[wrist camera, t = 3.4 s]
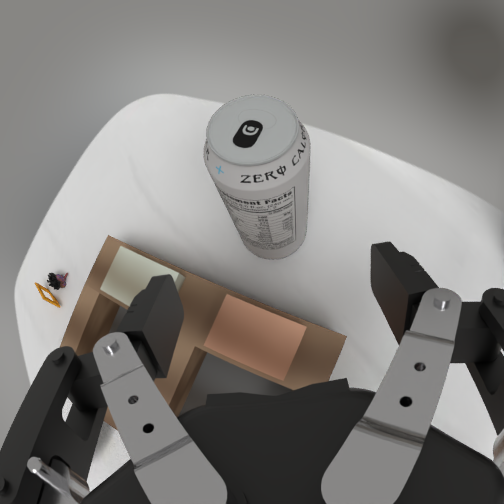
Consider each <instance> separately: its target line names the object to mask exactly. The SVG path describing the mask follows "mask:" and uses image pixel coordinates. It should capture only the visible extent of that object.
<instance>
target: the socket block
mask: <svg viewBox="0 0 504 504" xmlns="http://www.w3.org/2000/svg"><path fill="white" fill-rule="evenodd" d="M166 274H170V275H171V276H172V277H173V280H174V282H175V285H176V288H177V291H178V294H179V297H180V299H181V302H182V305H183V310H184V320H183V323H182V327H181V330H180V333H179V337H178V340H177V343H176V347H175V350H174V354H173V357H172V361H171V364H170V368H169V371H168V375H167V378H155V381H154V383H155V385H156V387H157V388H158V390H159V391H160V393H161V395H162V396H163V398H164V399H165V401H166V402H167V404H168V406H169V407H170V409H171V410H172V412H173V413H174V415H175V416H176V418H178V417H179V416H180V415H182V414H184V413H185V412H187V411H189V410H191V409H193V408H196V407H199V406H201V405H205V404H206V399H207V394H220V393H236V392H243V393H252V394H260V395H270V396H278V395H281V394H284V393H287V392H290V391H293V390H296V389H299V388H302V387H305V386H308V385H310V384H315V383H321V382H327V381H329V378H330V376H331V374H332V371H333V369H334V367H335V364H336V362H337V360H338V357H339V355H340V352H341V350H342V347H343V345H344V342H345V340H346V337H347V336H345V335H342V334H339V333H337V332H334V331H331V330H329V329H326V328H324V327H321V326H318V325H316V324H313V323H311V322H308V321H305V320H303V319H300V318H298V317H295V316H293V315H290V314H288V313H285V312H283V311H280V310H278V309H275V308H273V307H270V306H268V305H265V304H263V303H261V302H258V301H256V300H253V299H251V298H248V297H246V296H244V295H241V294H239V293H236V292H234V291H232V290H229V289H227V288H225V287H222V286H220V285H218V284H215V283H213V282H211V281H208V280H206V279H204V278H201V277H199V276H197V275H194V274H192V273H190V272H188V271H185V270H183V269H181V268H179V267H176V266H174V265H172V264H170V263H167V262H165V261H163V260H161V259H158V258H156V257H154V256H152V255H150V254H147V253H145V252H143V251H141V250H139V249H137V248H134V247H132V246H130V245H128V244H126V243H124V242H122V241H119V240H117V239H115V238H113V237H111V236H109V235H108V237H107V239H106V241H105V243H104V245H103V247H102V249H101V251H100V253H99V255H98V257H97V259H96V261H95V263H94V265H93V267H92V270H91V272H90V274H89V276H88V278H87V281H86V283H85V285H84V287H83V290H82V292H81V294H80V297H79V299H78V301H77V304H76V306H75V309H74V311H73V314H72V316H71V319H70V321H69V324H68V326H67V329H66V332H65V334H64V337H63V340H62V342H61V345H60V347H63V346H69V347H72V348H73V350H74V351H75V353H76V354H77V356H79V355H83V354H86V353H90V352H93V348H94V346H95V344H96V343H97V342H98V340H100V339H101V338H102V337H104V336H106V335H108V334H110V333H114V332H116V330H117V328H118V326H119V325H120V323H121V321H122V319H123V317H124V315H125V313H127V312H126V311H127V310H128V308H129V307H130V304H131V302H132V300H133V299H134V297H135V296H136V295H137V294H138V293H139V292H140V291H141V290H143V289H146V287H147V285H148V283H149V281H150V279H151V278H152V277H153V276H159V275H166ZM104 421H105V422H106V423H108V424H109V425H110V426H112V427H113V428H115V429H116V430H118V429H117V427H116V425H115V422H114V420H113V418H112V415H111V413H110V410H109V408H107V411H106V414H105V417H104Z"/></svg>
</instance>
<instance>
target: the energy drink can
mask: <svg viewBox="0 0 504 504" xmlns="http://www.w3.org/2000/svg"><path fill="white" fill-rule="evenodd" d="M206 137H207V139H206V142H205V146H204V161H205V165H206V167H207V169H208V171H209V173H210V175H211V177H212V179H213V181H214V183H215V185H216V187H217V189H218V191H219V194H220V196H221V198H222V200H223V202H224V204H225V206H226V208H227V210H228V212H229V214H230V216H231V218H232V220H233V222H234V224H235V226H236V228H237V230H238V232H239V234H240V236H241V238H242V240H243V242H244V244H245V246H246V247H247V248H248V250H249V251H251V252H252V253H253V254H255V255H257V256H258V257H261V258H264V259H272V260H274V259H281V258H284V257H287V256H289V255H291V254H292V253H294V252H295V251H296V250H297V249H298V248H299V247H300V246H301V245H302V243H303V241H304V239H305V236H306V230H307V214H308V194H309V171H310V139H309V135H308V133H307V131H306V129H305V127H304V126H303V125H302V124H301V122H300V121H299V120H298V117H297V116H296V114H295V111H294V110H293V109H292V108H291V107H290V106H289V105H288V104H286V103H285V102H284V101H282V100H280V99H278V98H275V97H272V96H267V95H248V96H243V97H239V98H236V99H234V100H232V101H229V102H228V103H226V104H224V105H223V106H222V107H220V108H219V109H218V110H217V111H216V112H215V113H214V115H213V116H212V117H211V119H210V121H209V123H208V126H207V130H206Z"/></svg>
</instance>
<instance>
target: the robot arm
mask: <svg viewBox="0 0 504 504" xmlns="http://www.w3.org/2000/svg"><path fill="white" fill-rule="evenodd" d="M371 287H372V291H373V294H374V296H375V298H376V300H377V302H378V304H379V305H380V307H381V309H382V311H383V313H384V315H385V317H386V319H387V322H388V324H389V326H390V328H391V330H392V332H393V334H394V336H395V338H396V340H397V342H398V344H399V347H398V349H397V352H396V354H395V356H394V358H393V360H392V362H391V365H390V367H389V369H388V371H387V373H386V375H385V377H384V379H383V381H382V383H381V385H380V387H379V389H378V391H377V392H373V391H370V390H365V389H359V388H349V385H348V381H347V378H344V379H338V380H333V381H327V382H321V383H315V384H310V385H308V386H305V387H302V388H299V389H296V390H293V391H290V392H287V393H284V394H281V395H278V396H270V395H260V394H252V393H243V392H236V393H220V394H207V399H206V404H205V405H201V406H199V407H196V408H193V409H191V410H189V411H187V412H185V413H184V414H182V415H180V416H179V417H178V418H176V416H175V415H174V413H173V412H172V410H171V409H170V407H169V406H168V404H167V402H166V401H165V399H164V398H163V396H162V395H161V393H160V391H159V390H158V388H157V387H156V385H155V383H154V381H155V378H167V375H168V371H169V368H170V364H171V361H172V357H173V354H174V350H175V347H176V343H177V340H178V337H179V333H180V330H181V327H182V323H183V320H184V310H183V305H182V302H181V299H180V297H179V294H178V291H177V288H176V285H175V282H174V280H173V277H172V276H171V275H170V274H166V275H159V276H153V277H152V278H151V279H150V281H149V283H148V285H147V287H146V289H143V290H141V291H140V292H139V293H138V294H137V295H136V296H135V297H134V299H133V300H132V302H131V304H130V307H129V308H128V310H127V311H126V312H127V313H125V315H124V317H123V319H122V321H121V323H120V325H119V326H118V328H117V330H116V332H114V333H110V334H108V335H106V336H104V337H102V338H101V339H100V340H98V342H97V343H96V344H95V346H94V348H93V352H90V353H86V354H83V355H79V356H77V354H76V353H75V351H74V350H73V348H72V347H69V346H63V347H60V348H57V349H55V350H54V351H53V352H51V353H50V354H49V355H48V356H47V358H46V360H45V361H44V363H43V365H42V367H41V368H40V370H39V372H38V374H37V376H36V378H35V379H34V381H33V383H32V385H31V387H30V389H29V391H28V393H27V395H26V397H25V399H24V401H23V403H22V405H21V407H20V409H19V411H18V413H17V415H16V417H15V419H14V421H13V424H12V425H11V428H10V430H9V432H8V434H7V437H6V439H5V441H4V443H3V446H2V448H1V451H0V504H504V356H503V354H502V353H501V351H500V350H501V348H502V349H503V351H504V290H503V289H500V288H491V289H488V290H486V291H485V292H484V293H483V296H482V300H481V302H462V301H461V298H460V297H459V295H458V294H456V293H455V292H453V291H452V290H449V289H445V288H439V287H438V286H437V285H436V284H435V282H434V281H433V280H432V279H431V277H430V276H429V275H428V274H427V272H426V271H424V269H423V268H422V266H421V265H419V263H418V262H417V260H416V259H415V258H414V257H413V256H411V255H409V254H407V253H406V252H399V251H398V250H397V249H396V248H395V246H394V245H393V244H392V243H391V242H383V243H377V244H372V246H371ZM450 363H465V364H466V366H467V368H468V370H469V372H470V374H471V376H472V378H473V380H474V382H475V384H476V386H477V389H478V391H479V393H480V395H481V397H482V399H483V402H484V404H485V406H486V409H487V411H488V413H489V416H490V418H491V420H492V423H493V425H494V428H495V430H496V433H497V435H498V436H497V438H496V440H495V442H494V445H493V454H494V460H493V461H492V460H490V459H489V458H487V457H486V456H484V455H482V454H481V453H479V452H477V451H475V450H473V449H472V448H470V447H468V446H466V445H465V444H463V443H461V442H459V441H458V440H456V439H454V438H452V437H451V436H449V435H447V434H446V433H444V432H442V431H441V430H439V429H437V428H436V427H434V426H432V425H431V421H432V419H433V416H434V413H435V410H436V407H437V404H438V401H439V398H440V395H441V392H442V389H443V386H444V382H445V379H446V376H447V372H448V368H449V365H450ZM67 397H68V398H69V400H70V401H71V402H72V403H73V404H72V407H71V409H70V412H69V414H68V417H67V419H66V422H65V421H64V420H63V417H62V408H63V406H64V403H65V401H66V399H67ZM107 408H109V410H110V413H111V415H112V418H113V420H114V422H115V425H116V427H117V429H118V432H119V434H120V436H121V438H122V441H123V443H124V445H125V447H126V449H127V451H128V453H129V456H130V458H131V459H130V460H129V461H127V462H126V463H125V464H124V465H123V466H122V467H120V468H119V469H118V470H117V471H116V472H114V473H113V474H112V475H111V476H110V477H108V478H107V479H106V480H105V481H104V482H102V483H101V484H100V485H99V486H97V487H96V488H95V489H94V490H92V491H91V492H90V491H89V486H88V484H87V482H86V481H87V477H88V473H89V470H90V466H91V462H92V458H93V455H94V451H95V448H96V444H97V441H98V437H99V434H100V431H101V427H102V424H103V421H104V417H105V414H106V411H107Z"/></svg>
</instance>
